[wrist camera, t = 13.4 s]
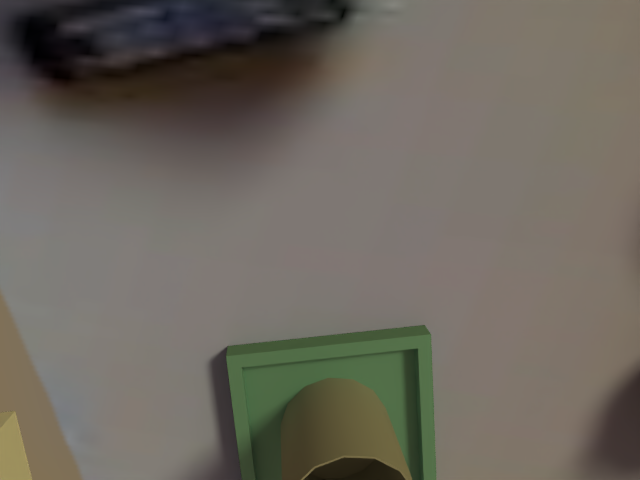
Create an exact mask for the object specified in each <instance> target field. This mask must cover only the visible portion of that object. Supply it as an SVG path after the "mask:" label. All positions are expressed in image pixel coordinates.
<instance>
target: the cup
mask: <svg viewBox="0 0 640 480" xmlns="http://www.w3.org/2000/svg"><path fill="white" fill-rule="evenodd" d="M281 467H282V480H412V477H411V474H410V472H409V469H408V466H407V464H406V461H405V458H404V456H403V453H402V450H401V448H400V445H399V442H398V440H397V437H396V434H395V432H394V429H393V426H392V424H391V421H390V418H389V415H388V413H387V410H386V408H385V406H384V405H383V403H382V402H381V401H380V399H379V398H378V396H377V395H376V393H375V392H374V390H372V389H370V388H368V387H367V386H365V385H363V384H361V383H359V382H357V381H355V380H353V379H342V378H326V379H323V380H321V381H318V382H315V383H313V384H310V385H307V386H305V387H304V388H303V389H302V390H301V391H300V392H299V393H298V394H297V395H296V396H295V397H294V398H293V399H292V400H291V401H290V402H289V403H288V405H287V407H286V410H285V413H284V416H283V419H282V422H281Z"/></svg>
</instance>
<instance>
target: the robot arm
mask: <svg viewBox="0 0 640 480" xmlns="http://www.w3.org/2000/svg"><path fill="white" fill-rule="evenodd" d="M0 480H32V478H31V473H30V469H29V465H28V461H27V457H26V453H25V449H24V445H23V441H22V437H21V433H20V429H19V425H18V421H17V417H16V413H15V411H10V412H1V413H0Z"/></svg>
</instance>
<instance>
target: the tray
mask: <svg viewBox="0 0 640 480" xmlns="http://www.w3.org/2000/svg"><path fill="white" fill-rule="evenodd" d="M226 360H227V368H228V376H229V384H230V391H231V399H232V407H233V415H234V423H235V430H236V438H237V446H238V454H239V462H240V470H241V477H242V480H282V467H281V422H282V419H283V416H284V413H285V410H286V407H287V405H288V403H289V402H290V401H291V400H292V399H293V398H294V397H295V396H296V395H297V394H298V393H299V392H300V391H301V390H302V389H303V388H304V387H305V386H307V385H310V384H313V383H315V382H318V381H321V380H323V379H326V378H342V379H353V380H355V381H357V382H359V383H361V384H363V385H365V386H367V387H368V388H370V389H372V390H374V392H375V393H376V395H377V396H378V398H379V399H380V401H381V402H382V403H383V405H384V406H385V408H386V410H387V413H388V415H389V418H390V421H391V424H392V426H393V429H394V432H395V434H396V437H397V440H398V442H399V445H400V448H401V450H402V453H403V456H404V458H405V461H406V464H407V466H408V469H409V472H410V474H411V477H412V480H436V456H435V430H434V403H433V376H432V349H431V334H430V332H429V331H428V329H427V328H426V326H425V325H422V326H412V327H403V328H394V329H384V330H375V331H365V332H356V333H347V334H337V335H328V336H319V337H309V338H300V339H290V340H281V341H272V342H262V343H253V344H244V345H234V346H228V348H227V354H226Z"/></svg>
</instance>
